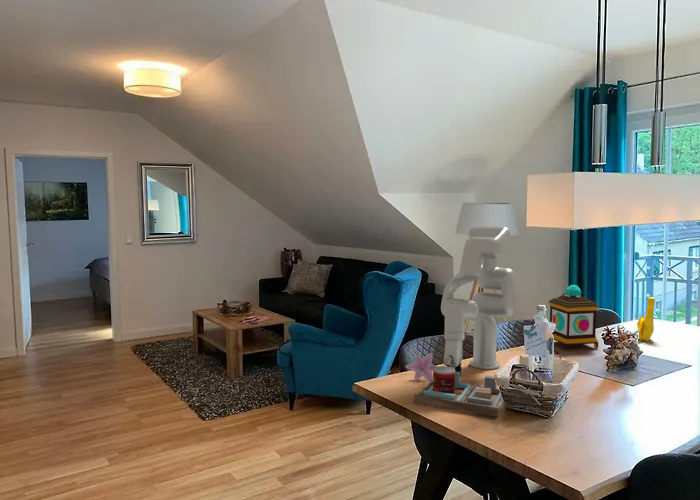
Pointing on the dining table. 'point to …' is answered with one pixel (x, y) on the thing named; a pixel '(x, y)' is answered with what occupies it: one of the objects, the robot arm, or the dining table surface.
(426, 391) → the teal rectangular frame
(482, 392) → the tan wooden cube
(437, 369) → the canned food
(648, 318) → the yellow foam finger
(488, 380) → the grey organizer tray
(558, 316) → the decorative lantern
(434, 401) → the divided compartment tray
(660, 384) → the dining table surface
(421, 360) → the lily
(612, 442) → the dining table surface
